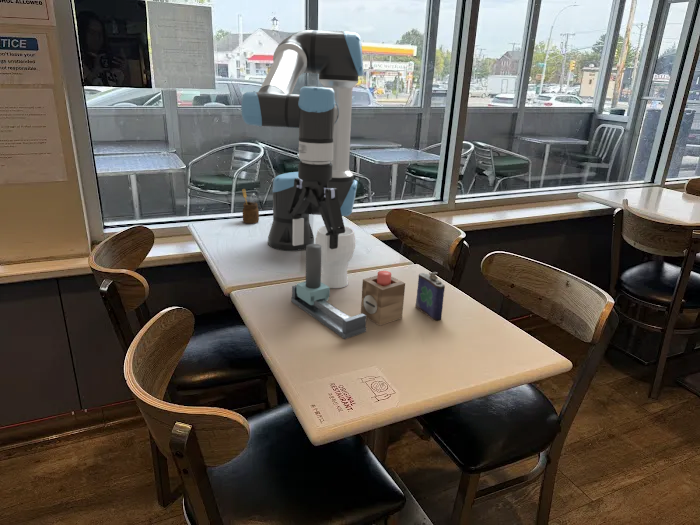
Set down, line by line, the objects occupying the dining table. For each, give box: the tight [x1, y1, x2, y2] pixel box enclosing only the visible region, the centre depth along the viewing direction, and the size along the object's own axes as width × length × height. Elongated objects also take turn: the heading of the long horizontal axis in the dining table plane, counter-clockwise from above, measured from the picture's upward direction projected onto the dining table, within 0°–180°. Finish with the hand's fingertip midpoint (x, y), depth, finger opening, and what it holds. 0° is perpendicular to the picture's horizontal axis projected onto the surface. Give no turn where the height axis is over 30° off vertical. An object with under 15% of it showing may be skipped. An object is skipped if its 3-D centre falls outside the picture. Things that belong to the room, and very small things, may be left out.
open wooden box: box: [360, 275, 406, 326], centre depth 116 cm, size 7×8×9 cm
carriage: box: [296, 243, 331, 305], centre depth 118 cm, size 6×6×13 cm
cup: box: [315, 225, 357, 289], centre depth 133 cm, size 11×11×15 cm
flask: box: [415, 271, 446, 322], centre depth 119 cm, size 9×3×11 cm, turn 26°
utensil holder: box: [241, 188, 260, 225], centre depth 183 cm, size 6×6×12 cm
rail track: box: [291, 284, 367, 340], centre depth 116 cm, size 22×6×4 cm, turn 38°
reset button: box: [376, 270, 392, 286], centre depth 115 cm, size 3×3×4 cm
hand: (313, 252), depth 116 cm, fingers open, 13 cm apart
